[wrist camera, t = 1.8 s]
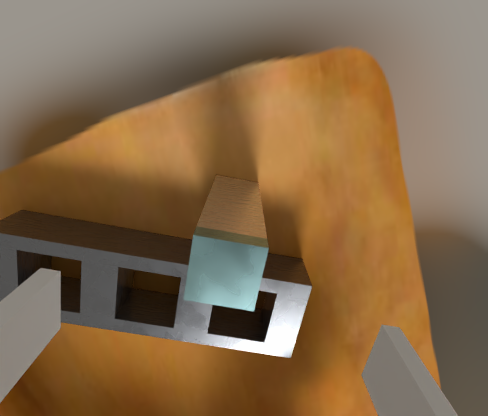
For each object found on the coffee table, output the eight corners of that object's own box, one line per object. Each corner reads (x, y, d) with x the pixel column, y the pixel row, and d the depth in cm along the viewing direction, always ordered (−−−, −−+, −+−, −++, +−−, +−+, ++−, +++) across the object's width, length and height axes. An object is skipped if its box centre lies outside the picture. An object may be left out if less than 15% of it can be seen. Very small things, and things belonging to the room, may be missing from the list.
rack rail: (284, 323, 35) (290, 358, 30) (23, 280, 34) (-13, 310, 29) (302, 259, 33) (312, 286, 28) (21, 210, 31) (-19, 229, 26)
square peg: (250, 221, 31) (253, 311, 18) (209, 214, 31) (183, 299, 18) (258, 182, 30) (268, 248, 17) (216, 174, 30) (193, 234, 17)
